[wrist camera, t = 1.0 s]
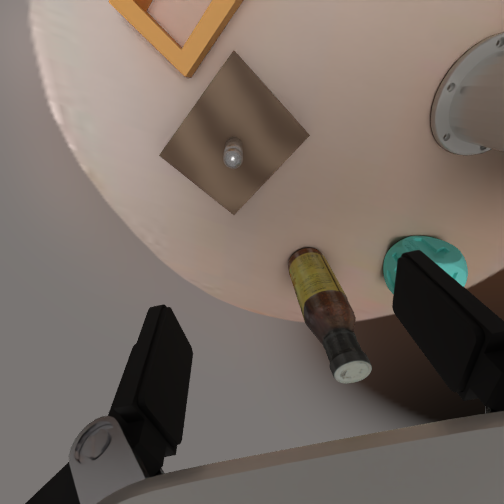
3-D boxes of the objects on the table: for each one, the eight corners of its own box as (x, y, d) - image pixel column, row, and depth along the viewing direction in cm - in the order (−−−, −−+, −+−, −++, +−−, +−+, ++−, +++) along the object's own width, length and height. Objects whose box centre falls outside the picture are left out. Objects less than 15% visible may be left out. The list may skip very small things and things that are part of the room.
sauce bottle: (279, 267, 44) (305, 379, 27) (303, 239, 41) (347, 345, 25) (310, 282, 46) (350, 395, 30) (334, 257, 44) (394, 365, 27)
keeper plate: (234, 51, 28) (232, 40, 21) (307, 133, 33) (327, 148, 26) (162, 152, 34) (140, 173, 26) (234, 210, 38) (233, 242, 31)
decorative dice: (440, 234, 42) (478, 263, 35) (423, 274, 46) (454, 306, 40) (390, 235, 42) (419, 265, 35) (378, 275, 46) (402, 308, 39)
